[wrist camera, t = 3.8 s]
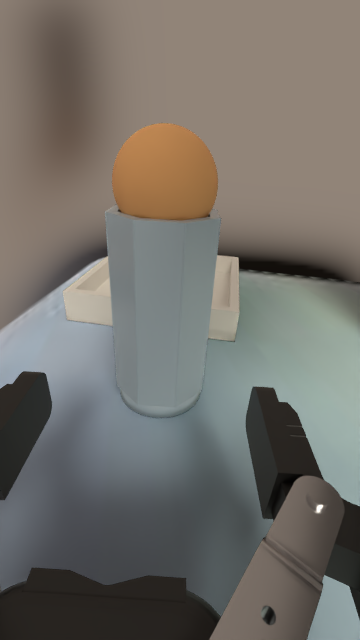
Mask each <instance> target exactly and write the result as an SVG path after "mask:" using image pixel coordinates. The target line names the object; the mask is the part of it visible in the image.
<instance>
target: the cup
mask: <svg viewBox="0 0 360 640" xmlns="http://www.w3.org/2000/svg"><path fill="white" fill-rule="evenodd" d="M105 218H106V232H107V248H108V263H109V277H110V292H111V307H112V322H113V337H114V352H115V367H116V382H117V386H118V387H119V388H120V391H121V397H122V399H123V401H124V403H125V404H126V405H127V406H128V407H129V408H130V409H131V410H133V411H134V412H136V413H138V414H140V415H143V416H147V417H152V418H169V417H174V416H177V415H180V414H182V413H184V412H186V411H188V410H189V409H191V408H192V407H193V406H194V405H195V404H196V402H197V401H198V398H199V395H200V392H201V391H202V387H203V378H204V369H205V360H206V351H207V342H208V333H209V324H210V315H211V306H212V297H213V287H214V278H215V269H216V260H217V251H218V241H219V233H220V224H221V218H220V215H219V213H218V210H215V209H212V210H211V212H210V213H209V215H208V217H204V218H196V219H189V220H165V219H148V218H138V217H135V216H131V215H128V214H124V213H121V211H120V209H119V207H118V205H117V204H116V205H114V206H113V207H111V208H110V209H108V210H107V211H105Z"/></svg>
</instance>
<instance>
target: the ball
mask: <svg viewBox="0 0 360 640" xmlns="http://www.w3.org/2000/svg"><path fill="white" fill-rule="evenodd" d="M112 186H113V192H114V197H115V200H116V203H117V205H118V207H119V209H120V211H121V213H124V214H128V215H131V216H135V217H138V218H148V219H165V220H189V219H196V218H204V217H208V215H209V213H210V212H211V210H212V208H213V205H214V203H215V199H216V196H217V189H218V177H217V169H216V165H215V162H214V159H213V157H212V155H211V153H210V151H209V149H208V148H207V146H206V145H205V144H204V142H203V141H202V140H201V139H200V138H199V137H198V136H197V135H195V134H194V133H193V132H191V131H190V130H188V129H186V128H184V127H182V126H178V125H175V124H168V123H159V124H153V125H150V126H147V127H144V128H142V129H141V130H138V131H137V132H136V133H134V134H133V135H132V136H131V137H130V138H129V139H128V140H127V141H126V142H125V143H124V145H123V146H122V148H121V149H120V151H119V153H118V155H117V158H116V160H115V164H114V167H113V174H112Z"/></svg>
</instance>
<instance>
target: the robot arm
mask: <svg viewBox="0 0 360 640" xmlns="http://www.w3.org/2000/svg"><path fill="white" fill-rule="evenodd" d="M51 409H52V401H51V396H50V391H49V386H48V381H47V377H46V374H45V373H41V372H26V371H24V372H22V373H21V374H20V375H19V376H18V378H17V379H16V380H15V381H14V383H13V384H6V385H5V386H4V387H2V388H1V389H0V500H5V499H6V497H7V495H8V493H9V491H10V490H11V488H12V486H13V484H14V482H15V480H16V478H17V477H18V475H19V473H20V471H21V469H22V467H23V465H24V464H25V462H26V460H27V458H28V456H29V454H30V452H31V451H32V449H33V447H34V445H35V443H36V441H37V439H38V438H39V436H40V434H41V432H42V430H43V428H44V426H45V425H46V423H47V421H48V419H49V417H50V414H51ZM246 432H247V438H248V443H249V448H250V453H251V459H252V464H253V469H254V474H255V480H256V485H257V490H258V495H259V500H260V506H261V511H262V516H263V519H273V520H274V522H273V524H272V526H271V528H270V530H269V532H268V533H267V535H266V537H264V538H263V540H262V541H261V543H260V545H259V547H258V548H257V550H256V552H255V554H254V556H253V558H252V560H251V562H250V564H249V565H248V567H247V569H246V571H245V573H244V575H243V577H242V579H241V581H240V582H239V584H238V586H237V588H236V590H235V592H234V594H233V596H232V598H231V599H230V601H229V603H228V605H227V607H226V609H225V611H224V613H223V615H222V617H221V616H220V615H219V614H218V613H217V612H216V611H215V610H214V609H213V608H212V607H211V606H210V605H209V604H208V603H207V602H205V601H204V600H203V599H202V598H200V597H198V596H197V595H195V594H193V593H191V592H189V591H187V590H186V578H176V577H162V576H144V577H140V578H136V579H132V580H128V581H124V582H120V583H116V584H112V585H103V584H100V583H98V582H96V581H93V580H91V579H89V578H87V577H84V576H82V575H80V574H77V573H75V572H73V571H70V570H59V569H45V568H32V569H31V571H30V574H29V577H28V579H27V581H24V582H21V583H19V584H16V585H13V586H11V587H9V588H7V589H5V590H4V591H1V587H0V640H306V639H307V636H308V633H309V630H310V627H311V624H312V621H313V618H314V615H315V612H316V609H317V605H318V602H319V599H320V596H321V593H322V589H323V583H322V580H323V577H324V575H326V576H328V577H330V578H333V579H335V580H337V581H339V582H342V583H344V584H346V585H348V586H349V587H350V590H351V593H352V597H353V600H354V603H355V606H356V609H357V613H358V616H359V619H360V506H357V505H354V504H352V503H350V502H347V501H346V500H344V499H342V498H341V497H340V495H339V493H338V492H337V491H336V490H335V489H334V487H332V486H331V485H330V484H329V483H327V482H326V481H324V479H323V477H322V475H321V472H320V470H319V467H318V465H317V462H316V460H315V457H314V455H313V452H312V449H311V447H310V444H309V442H308V439H307V438H306V434H305V432H304V429H303V428H302V424H301V422H300V419H299V417H298V414H297V413H296V412H295V410H294V409H293V408H292V407H291V406H290V405H289V404H288V403H287V402H279V401H278V398H277V395H276V392H275V390H274V388H268V387H253V388H252V391H251V396H250V401H249V405H248V410H247V415H246Z"/></svg>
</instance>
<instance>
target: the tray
mask: <svg viewBox="0 0 360 640" xmlns="http://www.w3.org/2000/svg"><path fill="white" fill-rule="evenodd" d="M63 296H64V303H65V310H66V317H67V320H71V321H79V322H86V323H94V324H102V325H109V326H113V322H112V307H111V292H110V277H109V263H108V256H107V257H106V258H105V259H103V260H102V261H101V262H99V263H98V264H97V265H96V266H94V267H93V268H92V269H91V270H89V271H88V272H87V273H85V274H84V275H83V276H82V277H80V278H79V279H78V280H76V281H75V282H74V283H73V284H71V285H70V286H69V287H68V288H66V289H65V290H64V291H63ZM238 318H239V266H238V257H228V256H219V255H217V260H216V269H215V278H214V287H213V297H212V306H211V315H210V324H209V333H208V338H210V339H218V340H225V341H233V342H235V336H236V330H237V324H238Z"/></svg>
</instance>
